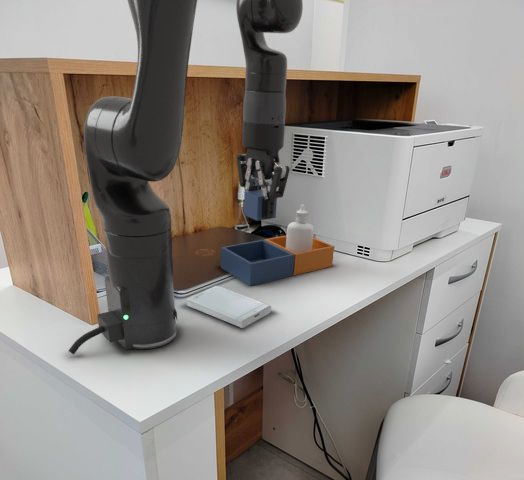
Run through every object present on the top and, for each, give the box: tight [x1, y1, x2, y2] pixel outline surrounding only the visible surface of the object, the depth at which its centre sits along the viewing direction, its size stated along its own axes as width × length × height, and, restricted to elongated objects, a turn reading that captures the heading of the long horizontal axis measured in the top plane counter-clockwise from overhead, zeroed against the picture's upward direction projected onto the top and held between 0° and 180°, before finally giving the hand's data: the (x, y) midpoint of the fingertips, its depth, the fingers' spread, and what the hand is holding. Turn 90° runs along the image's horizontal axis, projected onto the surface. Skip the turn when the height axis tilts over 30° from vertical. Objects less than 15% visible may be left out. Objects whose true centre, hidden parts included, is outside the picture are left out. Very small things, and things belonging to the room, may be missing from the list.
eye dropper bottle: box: [286, 204, 315, 253], centre depth 105 cm, size 4×6×12 cm
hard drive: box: [186, 285, 272, 329], centre depth 86 cm, size 2×8×12 cm
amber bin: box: [264, 234, 335, 276], centre depth 107 cm, size 11×11×4 cm
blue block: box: [243, 188, 278, 222], centre depth 96 cm, size 4×4×4 cm
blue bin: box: [220, 239, 294, 287], centre depth 101 cm, size 11×11×4 cm
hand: (259, 214), depth 96 cm, fingers closed on blue block, 4 cm apart
